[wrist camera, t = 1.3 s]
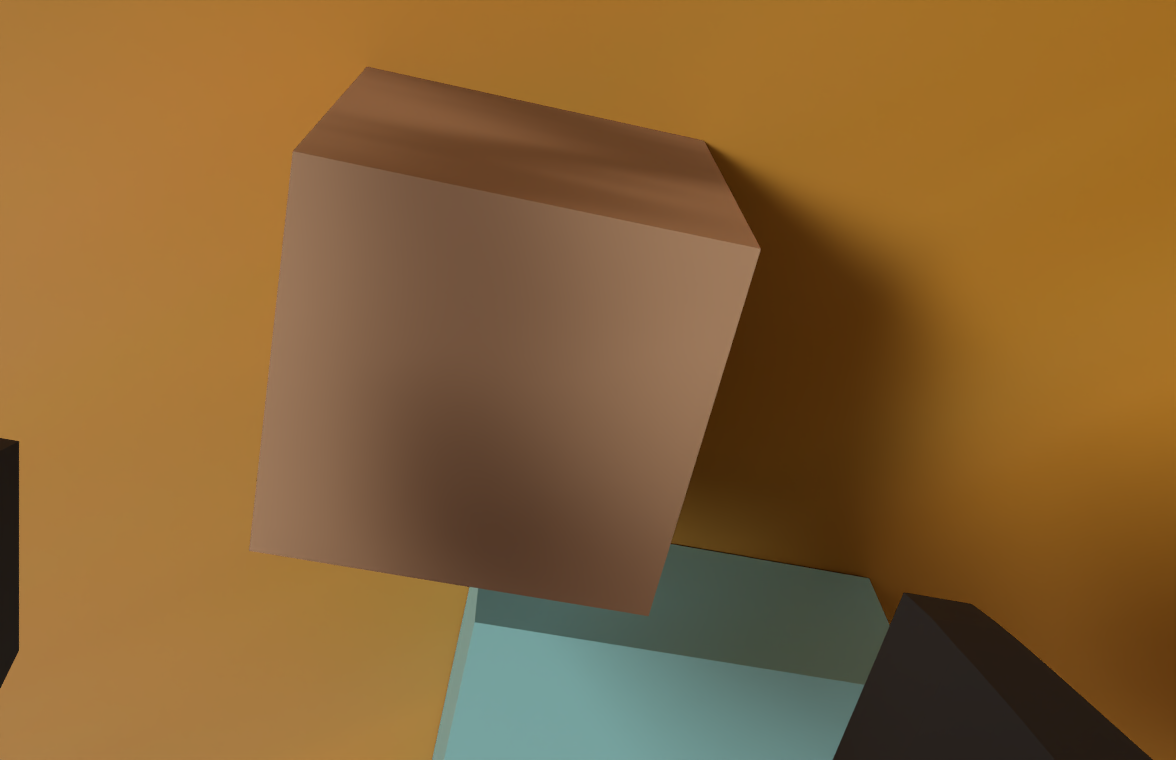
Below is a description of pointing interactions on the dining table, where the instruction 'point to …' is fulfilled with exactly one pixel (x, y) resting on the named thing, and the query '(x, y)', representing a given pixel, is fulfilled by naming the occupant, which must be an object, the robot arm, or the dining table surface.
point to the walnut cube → (495, 342)
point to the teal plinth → (667, 668)
